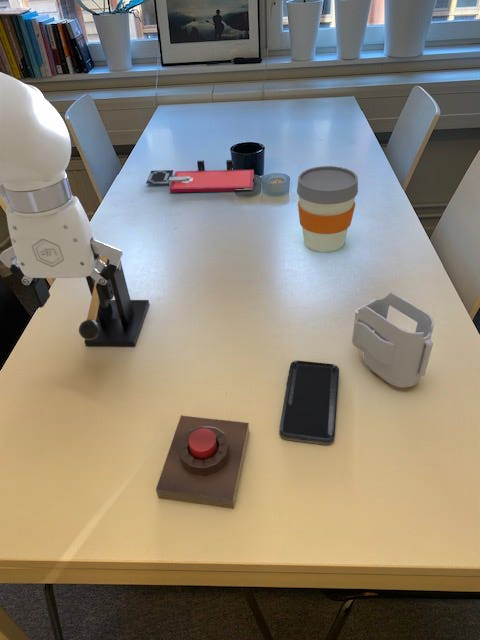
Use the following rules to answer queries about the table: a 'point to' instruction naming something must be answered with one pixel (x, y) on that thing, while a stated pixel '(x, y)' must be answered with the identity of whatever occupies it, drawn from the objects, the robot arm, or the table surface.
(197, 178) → the red board with handle
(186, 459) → the button block
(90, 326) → the switch lever
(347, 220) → the reusable coffee cup
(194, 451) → the button
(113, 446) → the table surface
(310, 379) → the phone
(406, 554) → the table surface
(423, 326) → the cable organizer
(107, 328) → the switch bracket
